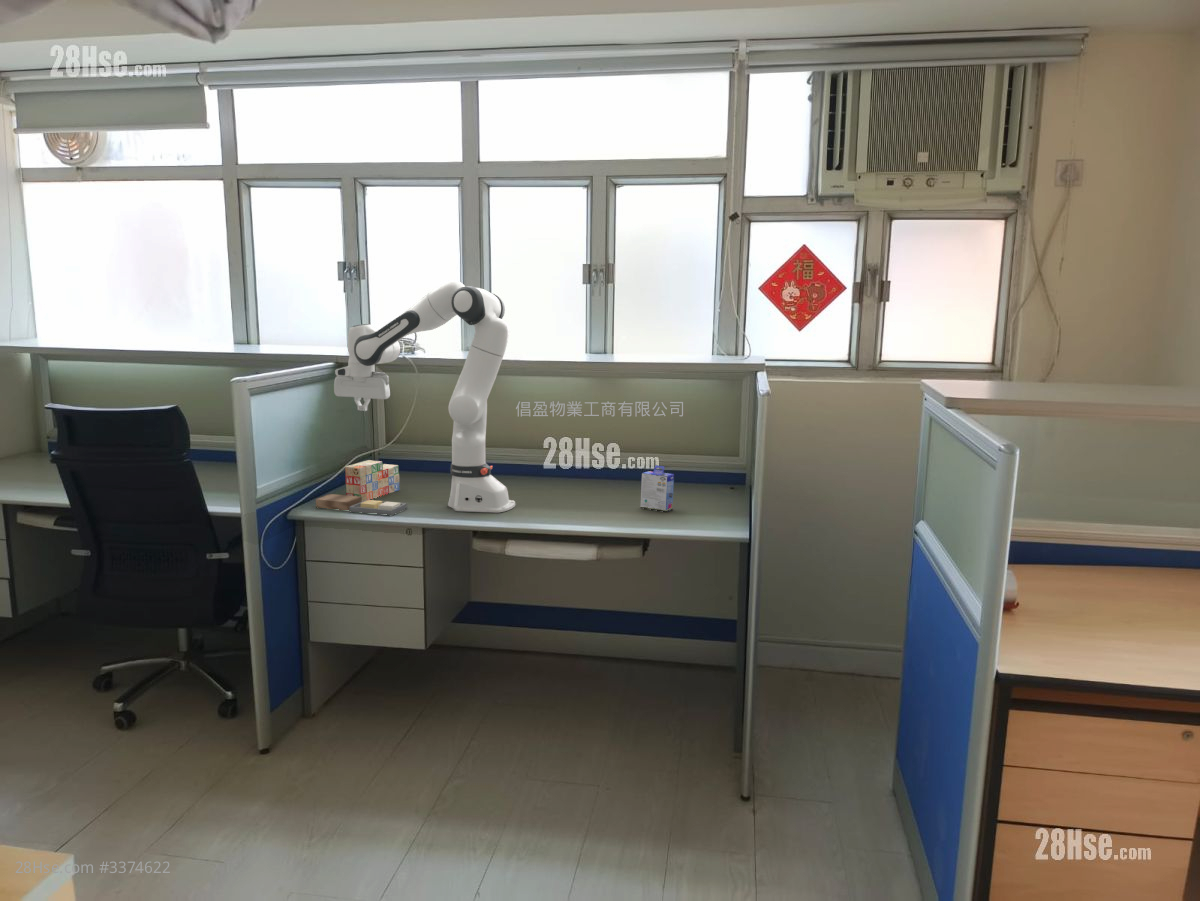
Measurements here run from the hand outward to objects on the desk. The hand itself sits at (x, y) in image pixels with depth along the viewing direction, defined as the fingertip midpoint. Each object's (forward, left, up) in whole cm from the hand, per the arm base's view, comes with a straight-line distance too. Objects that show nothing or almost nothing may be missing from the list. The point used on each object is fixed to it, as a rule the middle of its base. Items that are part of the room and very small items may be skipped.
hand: (362, 410), depth 284 cm
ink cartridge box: (-104, -10, -29) cm, 109 cm away
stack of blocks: (-6, +5, -29) cm, 30 cm away
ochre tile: (-16, +23, -28) cm, 40 cm away
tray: (-19, +23, -29) cm, 41 cm away
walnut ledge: (-4, +23, -29) cm, 37 cm away
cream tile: (-23, +23, -26) cm, 42 cm away
